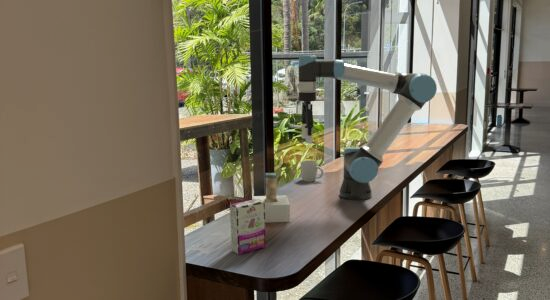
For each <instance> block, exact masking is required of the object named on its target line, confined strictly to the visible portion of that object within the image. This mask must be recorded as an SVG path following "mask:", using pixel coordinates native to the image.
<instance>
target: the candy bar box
mask: <svg viewBox="0 0 550 300" xmlns="http://www.w3.org/2000/svg"><path fill="white" fill-rule="evenodd" d="M229 211H230V212H229V213H230V215H229V217H230V238H231V239H230V242H231V251H232V252H233V253H235V254H237V255H243V254H247V253H250V252H251V253H252V252H254V251H257V250H258V251H259V250H262V249H265V248H266V247H267V245H266V244H267V243H266V242H267V241H266V239H267V238H266V237H267V236H266V222H265V202H264V201H262V200H259V199H254V200H253V199H251V200H250V199H249V200H245V201H240V202H237V203H231V204H229Z"/></svg>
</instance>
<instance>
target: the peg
mask: <svg viewBox="0 0 550 300" xmlns="http://www.w3.org/2000/svg"><path fill="white" fill-rule="evenodd" d="M265 196H266V202H276V196H277V173H276V172H265Z"/></svg>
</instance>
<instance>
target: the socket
mask: <svg viewBox="0 0 550 300" xmlns="http://www.w3.org/2000/svg"><path fill="white" fill-rule="evenodd" d="M254 199H259V200H262V201H264V202H265V223H290V222H291V204H290V202H289V199H288V195H285V194H284V195H276V202H266V195H256V196H255V195H253V197H252V200H254Z"/></svg>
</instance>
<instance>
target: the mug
mask: <svg viewBox="0 0 550 300" xmlns="http://www.w3.org/2000/svg"><path fill="white" fill-rule="evenodd" d="M318 169H319V171H320V173H321V174H320V175H319V176H318ZM300 176H301V179H302V181H304V182H310V183H311V182H315V181H316V179H321V178H322V177H323V176H324V169H323V168H322V167H321V166H319V165H318V162H317V161H315V160H303V161H300Z"/></svg>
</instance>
